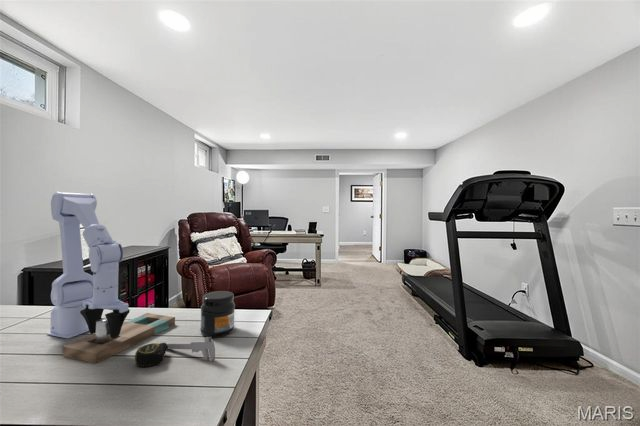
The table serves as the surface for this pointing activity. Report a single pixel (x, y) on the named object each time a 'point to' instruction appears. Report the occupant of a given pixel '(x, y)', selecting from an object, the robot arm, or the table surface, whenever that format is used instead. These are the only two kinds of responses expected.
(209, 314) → the supplement container
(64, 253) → the robot arm
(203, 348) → the caliper
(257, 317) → the table surface
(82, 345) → the board
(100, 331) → the metal pin
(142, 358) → the tape measure
